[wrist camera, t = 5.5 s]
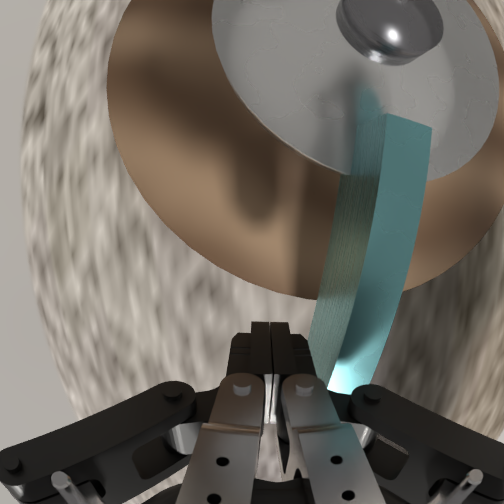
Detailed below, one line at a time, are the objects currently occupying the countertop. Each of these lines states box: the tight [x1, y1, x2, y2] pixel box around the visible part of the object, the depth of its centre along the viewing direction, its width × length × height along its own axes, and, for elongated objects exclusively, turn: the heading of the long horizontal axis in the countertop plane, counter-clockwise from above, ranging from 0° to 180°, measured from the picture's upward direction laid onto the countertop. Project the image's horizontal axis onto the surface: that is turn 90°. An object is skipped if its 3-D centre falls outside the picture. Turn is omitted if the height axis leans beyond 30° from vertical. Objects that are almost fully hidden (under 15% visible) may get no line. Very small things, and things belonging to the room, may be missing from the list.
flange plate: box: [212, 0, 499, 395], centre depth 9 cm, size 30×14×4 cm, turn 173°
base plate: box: [107, 0, 504, 300], centre depth 11 cm, size 28×28×8 cm
